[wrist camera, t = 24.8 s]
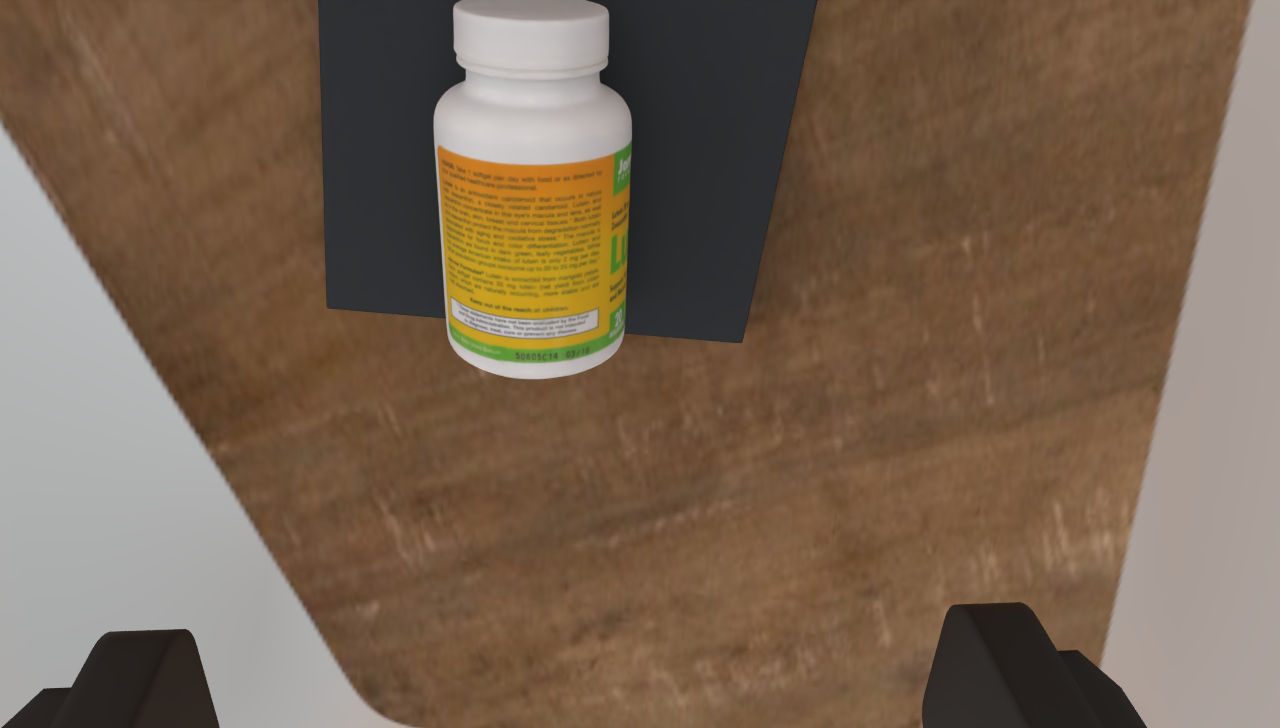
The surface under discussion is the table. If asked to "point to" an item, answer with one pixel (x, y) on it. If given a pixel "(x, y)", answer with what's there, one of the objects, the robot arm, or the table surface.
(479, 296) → the supplement bottle
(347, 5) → the charcoal mat
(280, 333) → the table surface
